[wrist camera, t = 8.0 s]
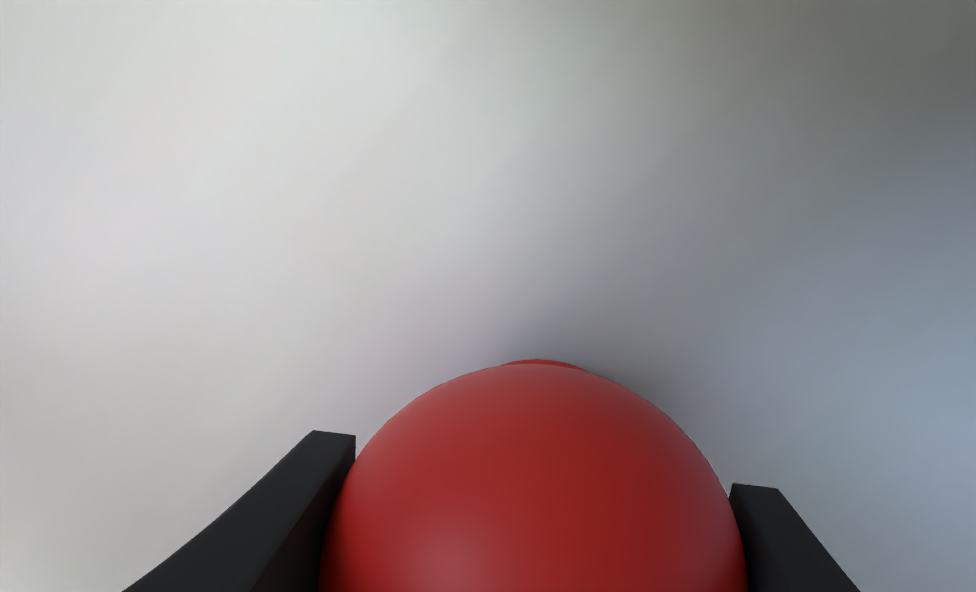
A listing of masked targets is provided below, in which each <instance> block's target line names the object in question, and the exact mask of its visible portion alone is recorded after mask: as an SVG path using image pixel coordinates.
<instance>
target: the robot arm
mask: <svg viewBox="0 0 976 592" xmlns="http://www.w3.org/2000/svg"><path fill="white" fill-rule="evenodd" d="M355 452H356V435H348V434H340V433H332V432H324V431H316V430H313V431H312V432H310V433H309V434H308V435H306V436H305V437H304V438H303V439H302V440H301V441H300V442H299V443H298V444H297V445H296V446H295V447H294V448H293V449H292V450H291V451H290V452H289V453H288V454H287V455H286V456H285V457H284V458H283V459H282V460H280V461H279V462H278V463H277V464H276V465H275V466H274V467H273V468H272V469H271V470H270V471H269V472H268V473H267V474H266V475H265V476H264V477H263V478H261V479H260V480H259V481H258V482H257V483H256V484H255V485H254V486H253V487H252V488H251V489H250V490H249V491H247V492H246V493H245V494H244V495H243V496H242V497H241V498H239V499H238V500H237V501H236V502H235V503H234V504H233V505H232V506H230V507H229V508H228V509H227V510H226V511H225V512H224V513H222V514H221V515H220V516H219V517H218V518H217V519H216V520H215V521H213V522H212V523H211V524H210V525H209V526H207V527H206V528H205V529H204V530H202V531H201V532H200V533H199V534H197V535H196V536H195V537H194V538H192V539H191V540H190V541H189V542H187V543H186V544H185V545H184V546H182V547H181V548H180V549H179V550H177V551H176V552H175V553H174V554H172V555H171V556H170V557H169V558H167V559H166V560H165V561H164V562H162V563H161V564H160V565H158V566H157V567H156V568H154V569H153V570H152V571H150V572H149V573H147V574H146V575H145V576H143V577H142V578H141V579H139V580H138V581H136V582H135V583H134V584H132V585H131V586H129V587H128V588H127V589H125V590H124V591H122V592H319V591H318V581H319V568H320V558H321V551H322V546H323V540H324V535H325V531H326V527H327V523H328V520H329V516H330V513H331V510H332V507H333V504H334V501H335V499H336V497H337V494H338V492H339V490H340V488H341V486H342V484H343V482H344V480H345V478H346V476H347V474H348V472H349V470H350V468H351V466H352V465H353V463H354V462H355ZM729 502H730V505H731V508H732V511H733V514H734V517H735V520H736V523H737V526H738V529H739V531H740V534H741V538H742V544H743V551H744V557H745V564H746V570H747V577H748V592H860V591H859V589H858V588H857V587H856V586H855V585H854V584H853V582H852V581H851V580H850V579H849V578H848V576H847V575H846V574H845V573H844V571H843V570H842V569H841V568H840V567H839V565H838V564H837V563H836V562H835V560H834V559H833V558H832V557H831V555H830V554H829V553H828V552H827V550H826V549H825V548H824V547H823V545H822V544H821V543H820V542H819V540H818V539H817V538H816V537H815V535H814V534H813V533H812V532H811V530H810V529H809V528H808V526H807V525H806V524H805V523H804V521H803V520H802V519H801V517H800V516H799V515H798V514H797V512H796V511H795V510H794V509H793V507H792V506H791V505H790V503H789V502H788V501H787V500H786V498H785V497H784V496H783V495H782V493H781V492H780V491H779V490H778V489H776V488H768V487H760V486H753V485H745V484H737V483H733V485H732V488H731V492H730V496H729Z"/></svg>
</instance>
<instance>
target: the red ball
mask: <svg viewBox="0 0 976 592" xmlns="http://www.w3.org/2000/svg"><path fill="white" fill-rule="evenodd" d="M318 591H319V592H748V577H747V570H746V564H745V557H744V551H743V544H742V538H741V534H740V531H739V529H738V526H737V523H736V520H735V517H734V514H733V511H732V508H731V505H730V502H729V499H728V497H727V495H726V493H725V491H724V489H723V487H722V485H721V484H720V482H719V480H718V478H717V476H716V474H715V473H714V471H713V469H712V468H711V466H710V464H709V463H708V461H707V460H706V458H705V457H704V456H703V454H702V453H701V452H700V450H699V449H698V448H697V446H696V445H695V444H694V442H693V441H692V440H691V439H690V438H689V437H688V436H687V435H686V434H685V433H684V432H683V431H682V430H681V429H680V428H679V427H678V426H677V425H676V424H675V423H674V422H673V421H672V420H671V419H670V418H669V417H668V416H667V415H666V414H665V413H663V412H662V411H661V410H659V409H658V408H657V407H655V406H654V405H653V404H651V403H650V402H649V401H647V400H645V399H644V398H642V397H640V396H639V395H637V394H635V393H633V392H632V391H630V390H628V389H626V388H625V387H623V386H621V385H619V384H617V383H615V382H612V381H610V380H608V379H605V378H603V377H601V376H598V375H595V374H591V373H589V372H588V371H586V370H583V369H581V368H579V367H576V366H573V365H570V364H567V363H563V362H558V361H552V360H540V359H534V360H522V361H516V362H511V363H507V364H504V365H501V366H498V367H492V368H486V369H482V370H479V371H475V372H472V373H469V374H465V375H462V376H460V377H457V378H455V379H453V380H450V381H448V382H446V383H443V384H441V385H439V386H436V387H434V388H433V389H431V390H429V391H428V392H426V393H424V394H423V395H421V396H419V397H418V398H416V399H415V400H413V401H412V402H411V403H410V404H408V405H407V406H406V407H405V408H403V409H402V410H401V411H400V412H398V413H397V414H396V415H395V416H393V417H392V418H391V419H390V420H388V421H387V422H386V423H385V424H384V426H383V427H382V428H381V429H380V430H379V431H378V432H377V433H376V434H375V435H374V436H373V437H372V439H371V440H370V441H369V443H368V444H367V445H366V446H365V448H364V449H363V450H362V452H361V453H360V455H359V456H358V458H357V459H356V460H355V462H354V463H353V465H352V466H351V468H350V470H349V472H348V474H347V476H346V478H345V480H344V482H343V484H342V486H341V488H340V490H339V492H338V494H337V497H336V499H335V501H334V504H333V507H332V510H331V513H330V516H329V520H328V523H327V527H326V531H325V535H324V540H323V546H322V551H321V558H320V568H319V581H318Z"/></svg>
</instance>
